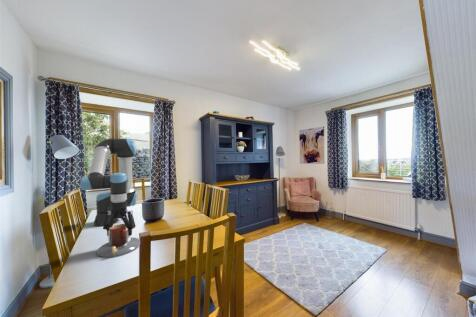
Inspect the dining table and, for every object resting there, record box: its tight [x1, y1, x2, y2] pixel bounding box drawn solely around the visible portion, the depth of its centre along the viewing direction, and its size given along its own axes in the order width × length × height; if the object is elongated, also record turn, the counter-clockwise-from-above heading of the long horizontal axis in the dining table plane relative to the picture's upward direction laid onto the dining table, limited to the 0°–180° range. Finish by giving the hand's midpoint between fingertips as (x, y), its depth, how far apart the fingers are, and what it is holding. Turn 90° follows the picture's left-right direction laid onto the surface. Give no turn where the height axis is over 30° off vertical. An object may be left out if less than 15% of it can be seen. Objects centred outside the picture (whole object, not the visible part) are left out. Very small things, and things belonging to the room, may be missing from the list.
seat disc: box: [96, 237, 140, 259], centre depth 102 cm, size 20×20×5 cm
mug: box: [109, 223, 128, 247], centre depth 101 cm, size 12×9×10 cm
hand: (119, 241), depth 102 cm, fingers closed on mug, 9 cm apart
